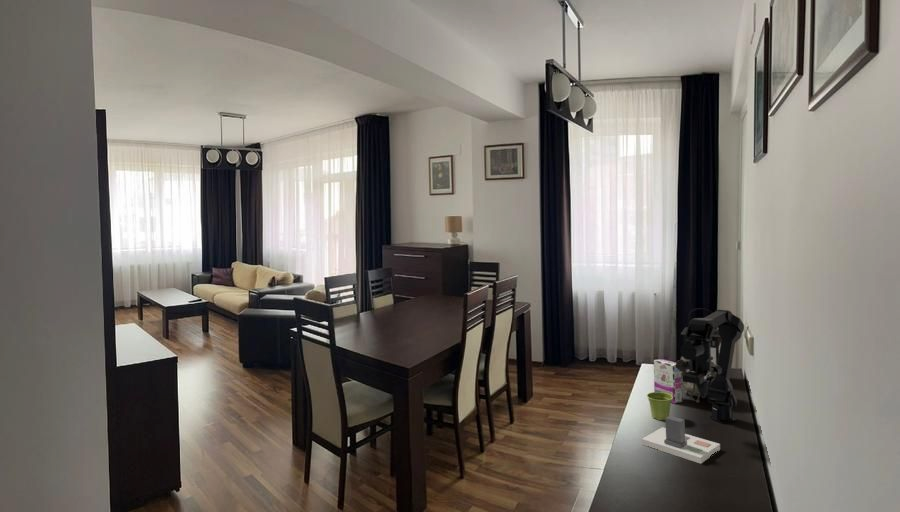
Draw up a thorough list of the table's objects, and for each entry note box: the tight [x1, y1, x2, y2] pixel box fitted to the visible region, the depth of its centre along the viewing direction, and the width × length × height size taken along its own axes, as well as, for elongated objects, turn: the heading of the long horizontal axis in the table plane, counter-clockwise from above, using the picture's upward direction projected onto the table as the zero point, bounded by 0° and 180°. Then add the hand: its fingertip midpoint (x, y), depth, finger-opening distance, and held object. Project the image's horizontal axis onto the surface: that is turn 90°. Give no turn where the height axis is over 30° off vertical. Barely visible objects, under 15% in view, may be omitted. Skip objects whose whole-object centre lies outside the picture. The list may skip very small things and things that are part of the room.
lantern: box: [680, 307, 721, 365], centre depth 236 cm, size 17×17×35 cm
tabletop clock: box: [680, 355, 716, 404], centre depth 212 cm, size 14×9×25 cm, turn 178°
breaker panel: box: [641, 426, 721, 465], centre depth 169 cm, size 14×20×2 cm
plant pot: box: [646, 391, 673, 421], centre depth 194 cm, size 9×9×9 cm
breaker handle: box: [664, 415, 687, 448], centre depth 166 cm, size 4×6×8 cm
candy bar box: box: [653, 358, 683, 404], centre depth 213 cm, size 11×5×16 cm, turn 23°
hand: (702, 396), depth 179 cm, fingers closed
